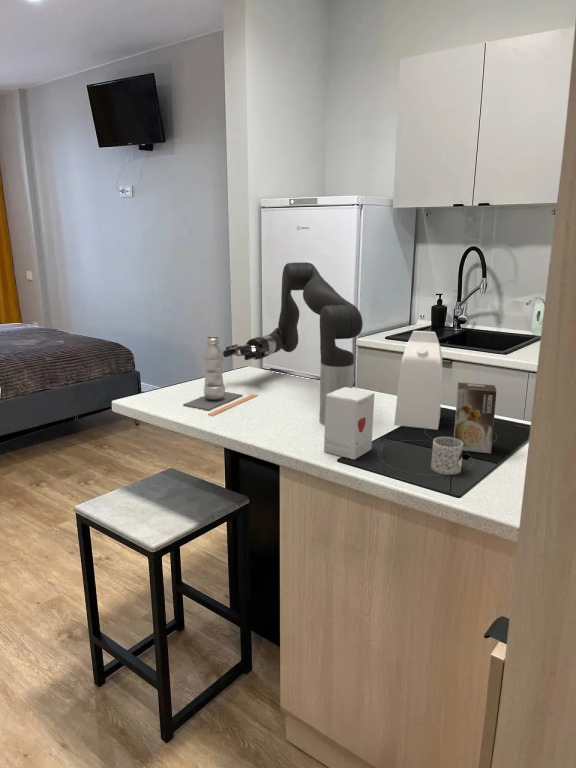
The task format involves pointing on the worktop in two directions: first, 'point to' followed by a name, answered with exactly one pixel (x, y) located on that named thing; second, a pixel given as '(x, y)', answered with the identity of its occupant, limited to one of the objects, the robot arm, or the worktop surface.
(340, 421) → the supplement box
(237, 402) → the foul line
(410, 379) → the milk
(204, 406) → the mat
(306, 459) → the worktop surface
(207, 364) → the plastic bottle
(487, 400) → the brown food box
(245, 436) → the worktop surface
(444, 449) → the mug
